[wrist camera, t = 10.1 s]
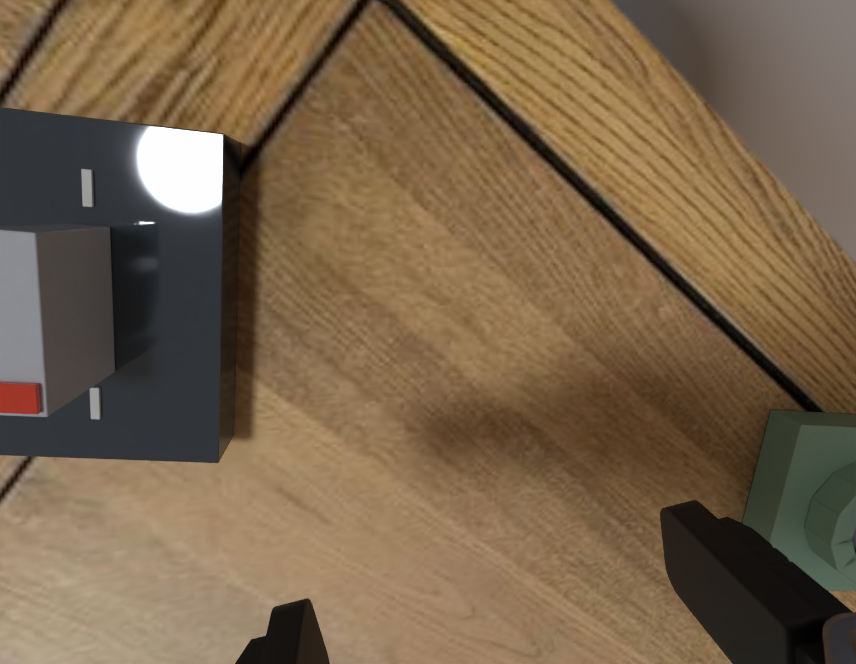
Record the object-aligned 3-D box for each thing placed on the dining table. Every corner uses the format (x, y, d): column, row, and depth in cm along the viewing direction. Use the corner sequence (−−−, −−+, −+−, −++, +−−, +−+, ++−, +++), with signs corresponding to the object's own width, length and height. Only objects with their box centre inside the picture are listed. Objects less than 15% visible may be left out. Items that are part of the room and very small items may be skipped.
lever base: (-7, 113, 22) (-65, 99, 19) (241, 142, 24) (223, 133, 21) (15, 426, 25) (-32, 456, 22) (234, 435, 27) (217, 465, 24)
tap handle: (66, 223, 21) (-29, 228, 16) (110, 226, 21) (30, 233, 16) (74, 370, 22) (-12, 418, 17) (115, 372, 22) (43, 420, 17)
